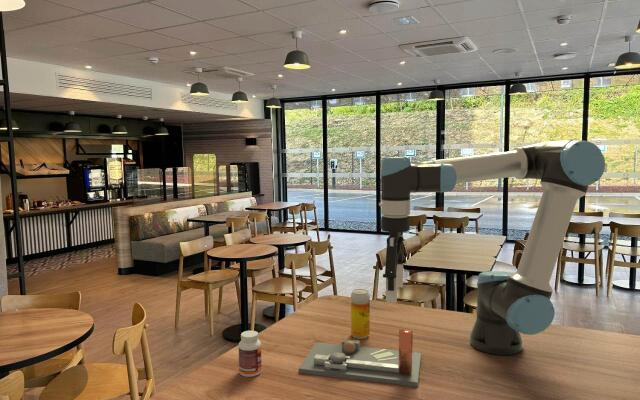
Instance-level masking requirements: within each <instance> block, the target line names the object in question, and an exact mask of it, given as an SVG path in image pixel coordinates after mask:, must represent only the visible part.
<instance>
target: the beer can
mask: <svg viewBox="0 0 640 400" xmlns="http://www.w3.org/2000/svg"><path fill="white" fill-rule="evenodd" d="M370 295H371V294H370V293H369V290H367V289H364V288H363V289H362V288H357V289H356V288H355V289H353V290H352V291H351V294H350V334H351V336H352V338H354V339H357V340H364V339H367V338H368V337H369V335H370V330H371V329H370V327H371V326H370V325H371V323H370V321H371V319H370V317H371V315H370V314H371V312H370V311H371V310H370V309H371V308H370V306H371V305H370V303H371V301H370V298H371V296H370Z"/></svg>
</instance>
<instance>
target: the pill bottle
mask: <svg viewBox="0 0 640 400" xmlns="http://www.w3.org/2000/svg"><path fill="white" fill-rule="evenodd" d="M240 339H241V340H240V341H239V343H238V372H239V375H240V376H242V377H246V378H249V377H250V378H251V377H256V376H258V375H260V374H261V373H262V369H263V368H262V343H261V341H260V339H259V332H258V331H256V330H245V331H243V332H241V334H240Z"/></svg>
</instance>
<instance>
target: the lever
mask: <svg viewBox="0 0 640 400" xmlns="http://www.w3.org/2000/svg"><path fill="white" fill-rule="evenodd" d="M413 334H414V331H413V330H412V329H410V328H400V329H398V351H399V361H398V365H396V364H387V363H378V362H369V361H360V360H350V356H345V360H344V361H343V362H346V364H344V363H335V362H330V354H329V356H326V355H317V354H316V355H315V357H314V364H316V365H325V367H327V368H336V369H344V370H346V369H347V367H354V368H363V369H372V370H381V371H390V372H398V373H401V374H404V375H409V374H411V373H412V352H413V343H414V342H413V341H414V340H413V339H414V338H413Z"/></svg>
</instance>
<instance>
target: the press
mask: <svg viewBox="0 0 640 400" xmlns="http://www.w3.org/2000/svg"><path fill="white" fill-rule="evenodd" d="M360 342H361V341H360V340H356V339H355V340H354V339H346V338H345V339H344V338H343V339H342V342H341V344H338V343H337V344H336V343H330V342H329V343H327V342H318V341H316V342H315V343H314V344H313V346H312V347H311V349H310V350H309V352H308V354H307V355H306V356H305V358H304V360H303V361H302V363H301V364H300V366H299V368H298V373H300V374H306V375H307V374H308V375H314V376H315V375H316V376H324V377H325V376H326V377H333V378H343V379H349V380H357V381H366V382H373V383H383V384H390V385H400V386H407V387H415V388H418V386H419V379H420V378H419V377H420V369H421V360H422V359H421V358H422V353H421V352H416V351H412V373H411V374H409V375H404V374H401V373H398V372H390V371H381V370H372V369H363V368H354V367H347V369H346V370H344V369H336V368H327V367H325V365H316V364H314V357H315V355H316V354H317V355H326V356H329V354H330V362H335V363H344V364H346V362H343V361H344V360H345V356H350V360H360V361H369V362H378V363H387V364H396V365H398V361H399V349H398V350H396V349H387V348H374V347H367V346H365V347H364V346H361V343H360Z"/></svg>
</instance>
